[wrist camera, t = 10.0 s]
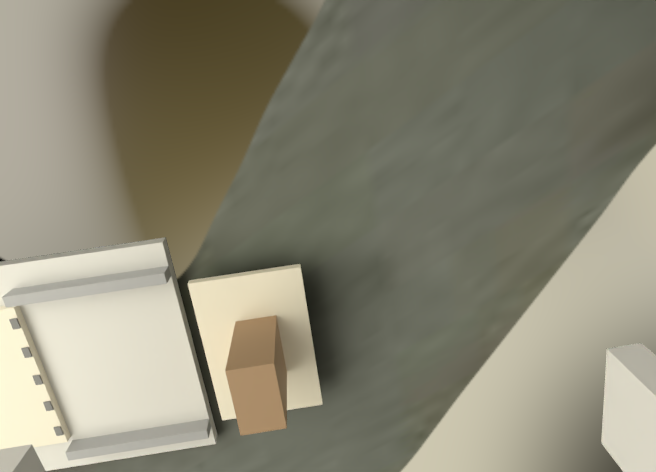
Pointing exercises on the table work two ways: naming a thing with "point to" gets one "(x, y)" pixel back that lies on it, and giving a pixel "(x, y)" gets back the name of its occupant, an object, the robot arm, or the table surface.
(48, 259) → the ticket board
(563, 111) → the table surface
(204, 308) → the tabbed cream panel
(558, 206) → the table surface
